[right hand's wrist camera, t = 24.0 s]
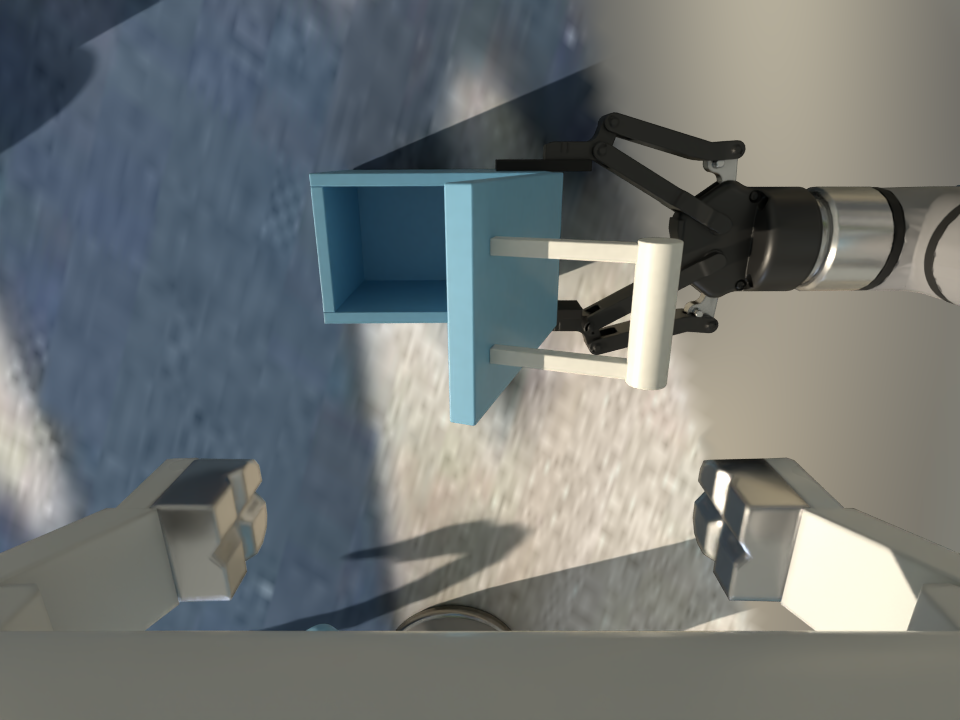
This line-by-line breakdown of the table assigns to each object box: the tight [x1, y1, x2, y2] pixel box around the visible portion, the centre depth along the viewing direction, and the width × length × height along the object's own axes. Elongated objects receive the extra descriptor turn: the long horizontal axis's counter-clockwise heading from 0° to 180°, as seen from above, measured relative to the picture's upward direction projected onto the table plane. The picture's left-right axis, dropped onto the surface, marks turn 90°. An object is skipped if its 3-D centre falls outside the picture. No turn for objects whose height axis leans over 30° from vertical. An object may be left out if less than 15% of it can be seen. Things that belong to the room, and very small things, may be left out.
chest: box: [309, 169, 548, 323], centre depth 42 cm, size 15×10×11 cm, turn 90°
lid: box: [444, 172, 684, 425], centre depth 28 cm, size 16×10×8 cm
